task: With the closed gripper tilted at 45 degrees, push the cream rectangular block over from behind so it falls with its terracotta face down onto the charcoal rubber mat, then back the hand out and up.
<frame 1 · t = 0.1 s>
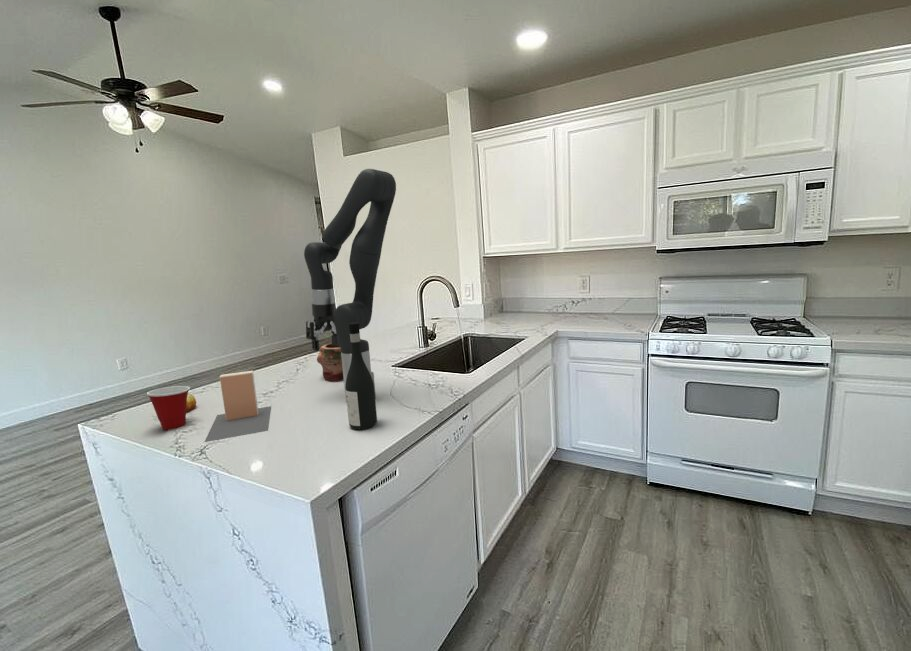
hand: (325, 348, 148), 17 cm above the counter, tool pointing down, fingers open, 8 cm apart
plastic cup: (175, 427, 129), on the counter
cream rectangular block: (242, 416, 133), resting on rubber mat
decorative planter: (340, 378, 171), on the counter
wine bottle: (363, 425, 122), on the counter
fruit: (179, 412, 142), on the counter
rubber mat: (241, 423, 128), on the counter
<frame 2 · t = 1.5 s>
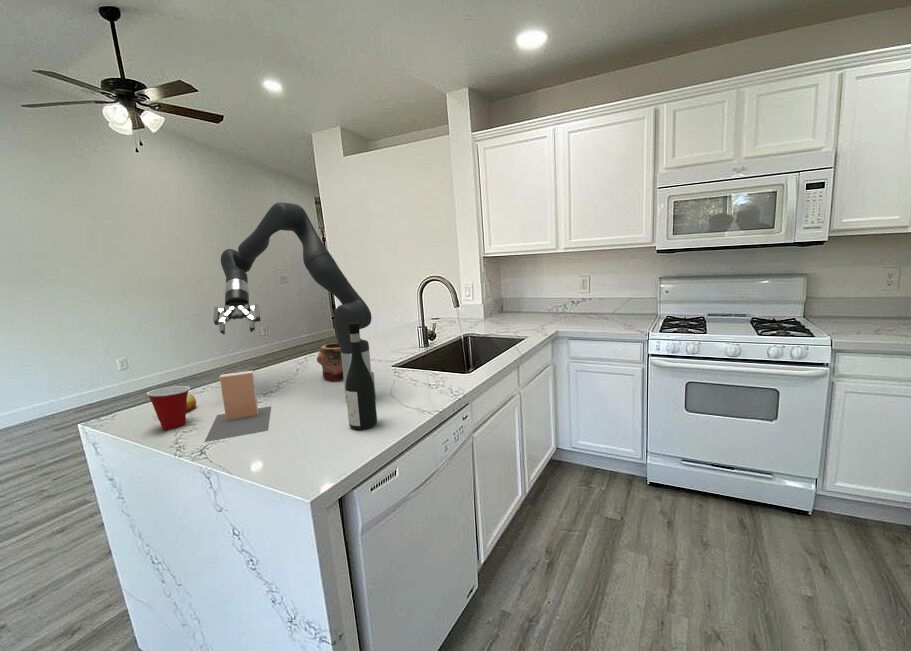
hand: (237, 331, 142), 25 cm above the counter, tool tilted 45°, fingers open, 8 cm apart
nothing on the counter moved.
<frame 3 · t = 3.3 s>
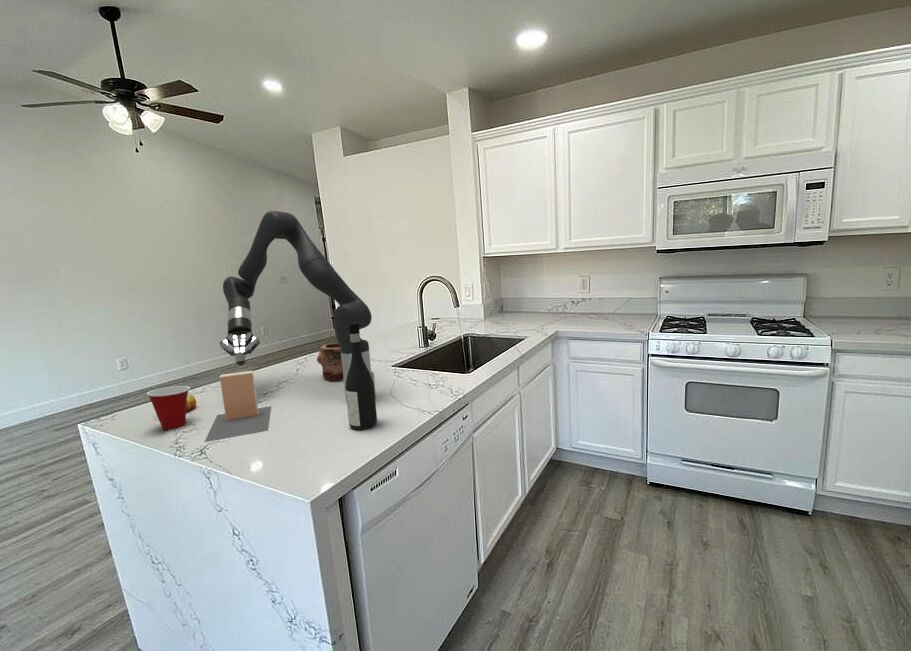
hand: (240, 364, 140), 15 cm above the counter, tool tilted 45°, fingers closed
nothing on the counter moved.
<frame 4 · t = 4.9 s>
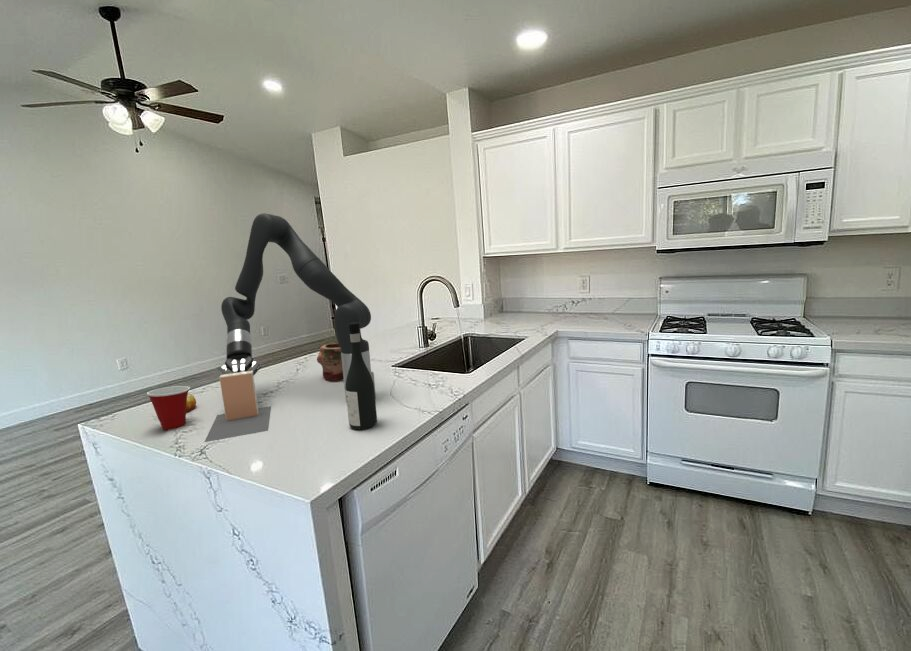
hand: (240, 391, 133), 8 cm above the counter, tool tilted 45°, fingers closed
cream rectangular block: (242, 416, 133), point 1 cm above the counter, touching gripper, rubber mat
everything else where it was.
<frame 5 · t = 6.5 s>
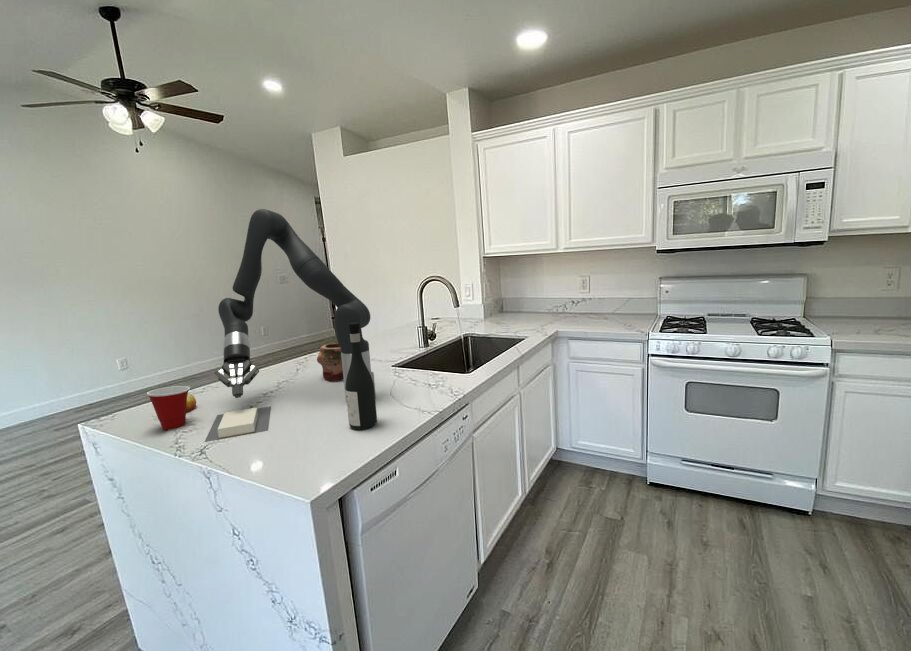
hand: (237, 396, 128), 8 cm above the counter, tool tilted 45°, fingers closed
cream rectangular block: (241, 413, 131), point 2 cm above the counter, tilted 90°, touching rubber mat
everything else where it was.
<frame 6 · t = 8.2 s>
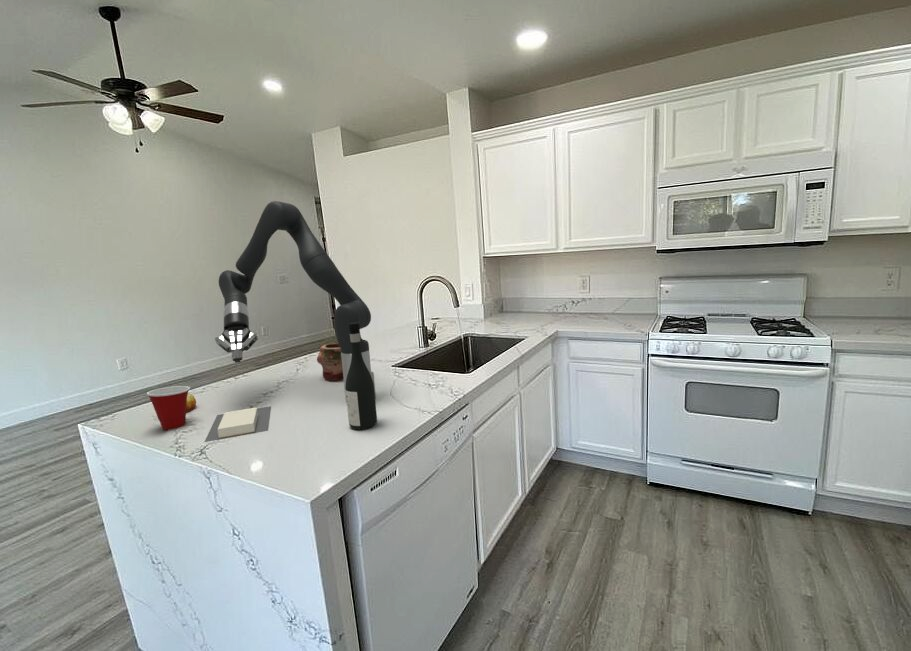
hand: (237, 361, 135), 17 cm above the counter, tool tilted 45°, fingers closed
nothing on the counter moved.
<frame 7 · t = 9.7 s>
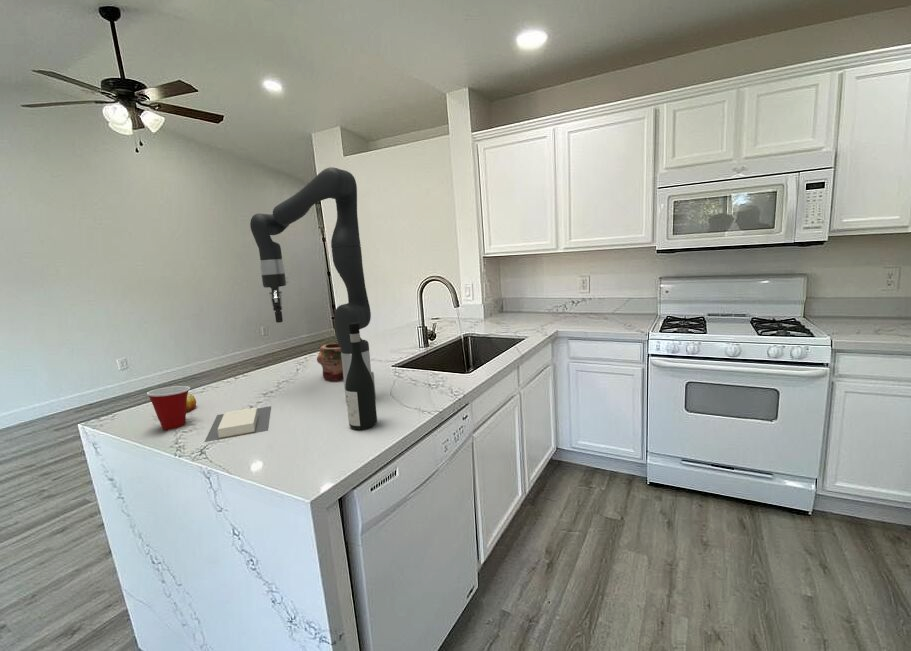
hand: (279, 322, 150), 27 cm above the counter, tool pointing down, fingers closed
nothing on the counter moved.
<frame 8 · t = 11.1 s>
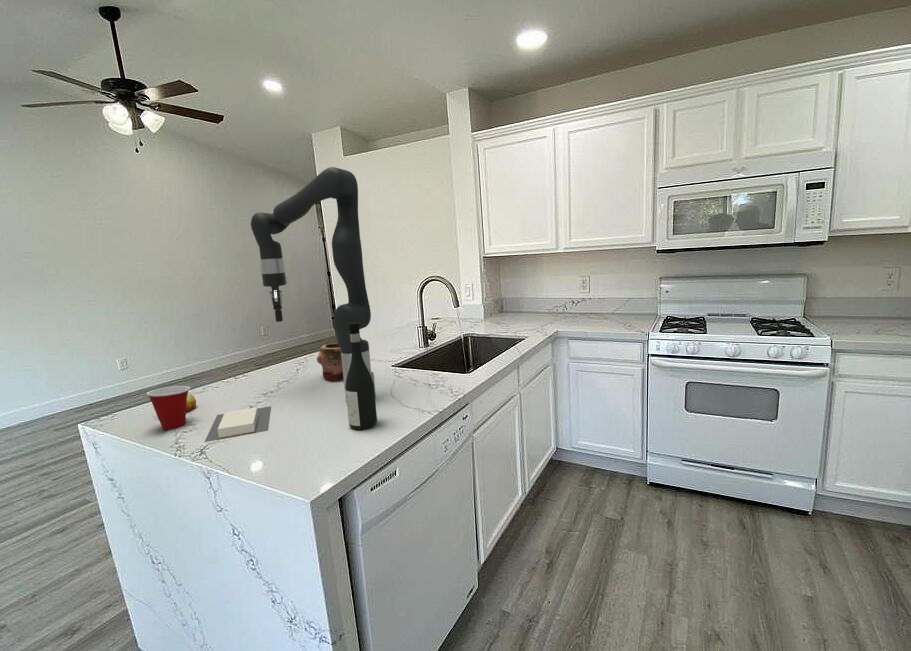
hand: (279, 321, 150), 27 cm above the counter, tool pointing down, fingers closed
nothing on the counter moved.
at the end: cream rectangular block tilted 90°; cream rectangular block inside the target area on the rubber mat (3.3 cm from its centre), point 2.0 cm above the rubber mat's base; cream rectangular block touching rubber mat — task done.
